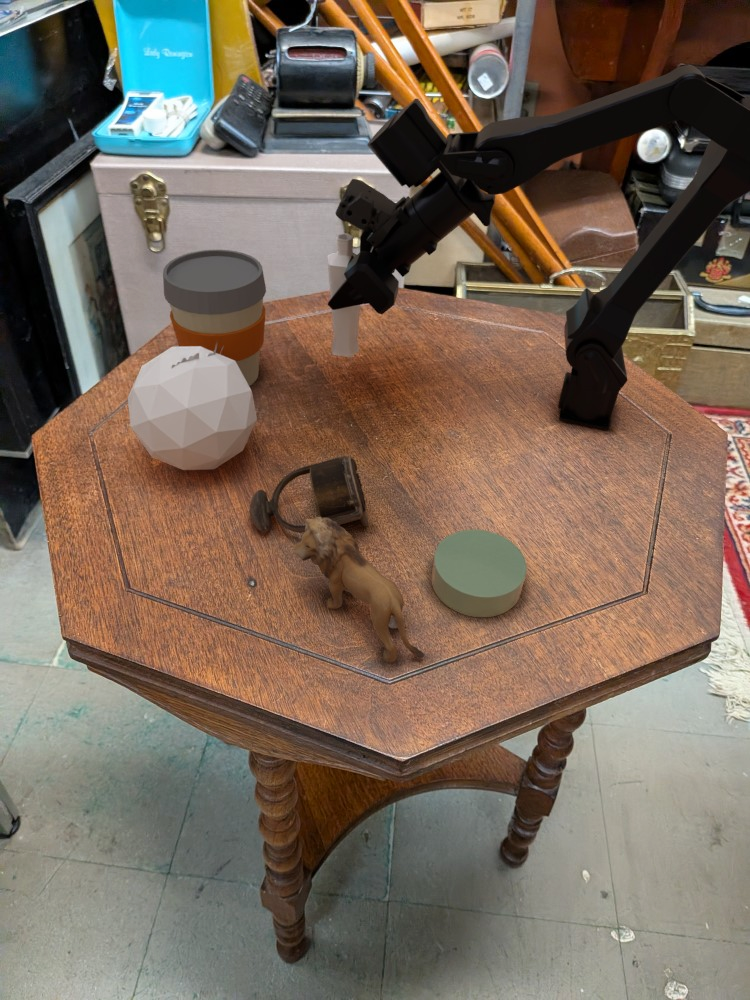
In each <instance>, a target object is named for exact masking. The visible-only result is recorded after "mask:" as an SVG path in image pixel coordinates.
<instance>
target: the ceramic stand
mask: <svg viewBox="0 0 750 1000" xmlns="http://www.w3.org/2000/svg"><path fill="white" fill-rule="evenodd" d="M527 568H528V567H527V562H526V558H525V556H524V554H523V552H522V551H521V549H520V548H519V546H517V545H516V544H515V543H513V542H512V541H511V540H510V539H508V538H507V537H505V536H504V535H502V534H499V533H496V532H493V531H489V530H484V529H464V530H460V531H456V532H453V533H451V534H449V535H447V536H446V537H444V538H443V539H442V540H441V541H440V542H439V543H438V545H437V547H436V548H435V551H434V555H433V562H432V569H431V579H430V580H431V585H432V586H431V587H432V589H433V591H434V593H435V595H436V596H437V598H438V599H439V600H440V601H441V602H442V604H444V605H445V606H446V607H448V608H450V609H451V610H453V611H455V612H457V613H459V614H461V615H465V616H467V617H474V618H491V617H492V618H493V617H496V616H499V615H502V614H505V613H506V612H508V611H509V610H511V609H512V608H514V606H515V605H516V604H517V603H518V602H519V600H520V598H521V594H522V591H523V587H524V583H525V580H526V576H527V571H528V570H527Z"/></svg>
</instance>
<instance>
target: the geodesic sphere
mask: <svg viewBox="0 0 750 1000" xmlns="http://www.w3.org/2000/svg"><path fill="white" fill-rule="evenodd" d="M216 344H217V345H218V343H216ZM217 345H216V347H215V350H214V352H213V351H210V350H208V349H206V348H203V347H201V346H180V347H179V346H170V347H169V348H168V349H166V350H164V351H163V352H161V353H160V354H158V355H157V356H155V357H154V358H152V359H150V360H149V361H147V362H146V363H144V364H142V365H141V368H140V370H139V372H138V374H137V376H136V378H135V380H134V382H133V384H132V387H131V389H130V392H129V394H128V396H127V405H128V417H129V427H130V429H131V430H132V431H133V433H134V435H135V436H136V437H137V439H138V440H139V441H140V443H141V444H142V446H143V447H144V449H145V450H146V451H147V453H148V454H149V456H150V457H151V458H153V459H155V460H158V461H160V462H163V463H165V464H168V465H170V466H172V467H175V468H177V469H179V470H182V471H197V470H198V471H201V470H202V471H203V470H204V471H206V470H215V469H217V468H218V467H220V466H222V465H223V464H225V463H227V462H228V461H229V460H231V459H232V458H234V457H236V456H237V455H238V454H239V453H240V454H241V452H243V451H244V449H245V447H246V445H247V443H248V440H249V439H250V436H251V434H252V431H253V430H254V427H255V425H256V423H257V421H258V417H257V412H256V406H255V400H254V395H253V390H252V389H251V386H249V385H248V383H247V381H246V380H245V378H244V376H243V374H242V372H241V371H240V369H239V367H238V365H237V363H236V362H235V360H232V359H230V358H227V357H225V356H222V355H220V354H221V352H220V354H218V353H216V349H217ZM222 349H223V347H222ZM221 351H222V350H221Z"/></svg>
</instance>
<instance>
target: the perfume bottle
mask: <svg viewBox="0 0 750 1000" xmlns="http://www.w3.org/2000/svg"><path fill="white" fill-rule="evenodd" d="M335 238H336V251H335V252H332V253H329V254H327V255H326V257H327V267H328V268H327V269H328V270H327V271H328V280H329V281H328V284H329V294H330V299H331V298H332V296H333V295H334V294H335V293H336V291H337V290H338V289H339V287H340V286H341V285H342V284H343V282H344V281H345V280H346V277H345V275H344V273H345V270H346V268H347V265H348V262H349V260H350V258H351V256H352V255H353V256H354V257H355V256H356V255H357V254H356V253H354V239H355V236H353V235H352V234H349V233H347V232H345V233H339V234H336V235H335ZM360 313H361V305H356V306H351V307H346V308H341V309H336V310H332V309H331V318H332V319H331V321H332V331H333V333H332V334H333V338H332V342H331V346H330V347H331V355H333V356H337V357H345V358H352V357H354V356H355V355H356V354H357V353H358V352H359V351H360V350H361V347H360V344H359V339H358V336H359V335H358V334H359V323H360Z"/></svg>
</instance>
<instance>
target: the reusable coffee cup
mask: <svg viewBox="0 0 750 1000" xmlns="http://www.w3.org/2000/svg"><path fill="white" fill-rule="evenodd" d="M162 277H163V278H162V281H163V284H162V285H163V295H164V296H163V297H164V299H165V300H166V302H167V303H168V304H169V307H170V312H169V318H170V321H171V325H172V327H173V331H174V334H175V337H176V340H177V344H178V347H180V346H201V347H203V348H206V349H208V350H210V351H213V352H214V350H215V347H216V345H217V344H216V343H218V345H217V349H216V353H218V354H220V352H221V354H220V355H222V356H225V357H227V358H230V359H232V360H235V362H236V363H237V365H238V367H239V369H240V371H241V372H242V374H243V376H244V378H245V380H246V381H247V383H248V385H249V387H251V386H252V385H253V384H254V383H255V382H256V381H257V379H258V378H259V374H260V373H259V372H260V355H261V348H262V347H263V346H264V341H265V326H266V307H265V305H264V297H265V295H266V292H267V285H266V281H265V276H264V271H263V266H262V264H261V262H260V261H259V260H258V259H257V258H255V257H253V256H252V255H250V254H247V253H244V252H240V251H237V250H236V251H235V250H229V249H204V250H198V251H192V252H187V253H186V254H181V255H179V256H176V257H175V258H173V259H171V260H170V261H169V262H168V263H166V265H165V266H164V267H163V271H162ZM222 347H223V349H222ZM221 350H222V351H221Z"/></svg>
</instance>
